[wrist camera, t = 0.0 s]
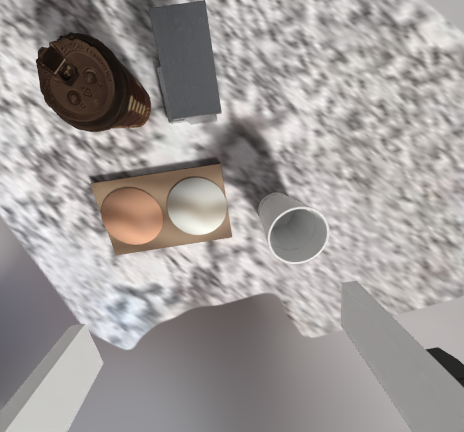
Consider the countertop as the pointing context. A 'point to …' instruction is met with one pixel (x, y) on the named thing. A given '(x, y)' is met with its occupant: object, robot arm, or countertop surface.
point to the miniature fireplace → (186, 62)
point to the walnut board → (164, 209)
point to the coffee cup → (90, 85)
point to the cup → (292, 228)
